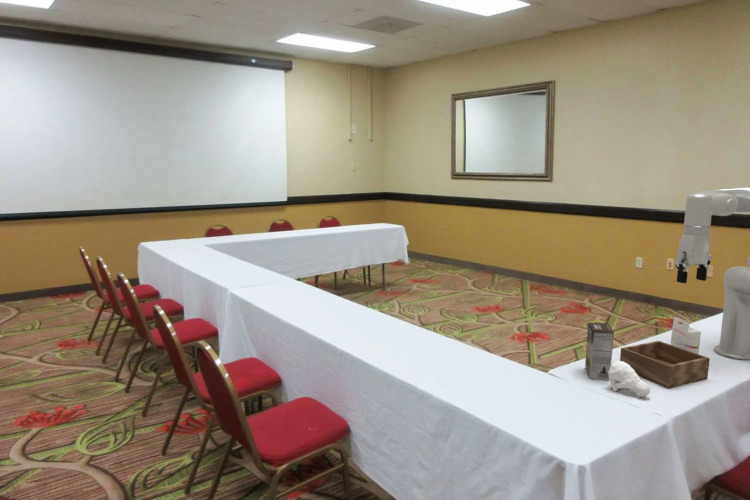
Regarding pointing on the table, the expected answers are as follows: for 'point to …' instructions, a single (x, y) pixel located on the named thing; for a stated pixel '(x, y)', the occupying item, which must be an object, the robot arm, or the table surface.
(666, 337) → the table surface
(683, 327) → the ink cartridge box
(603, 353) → the coffee box
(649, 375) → the walnut box
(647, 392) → the white figurine
